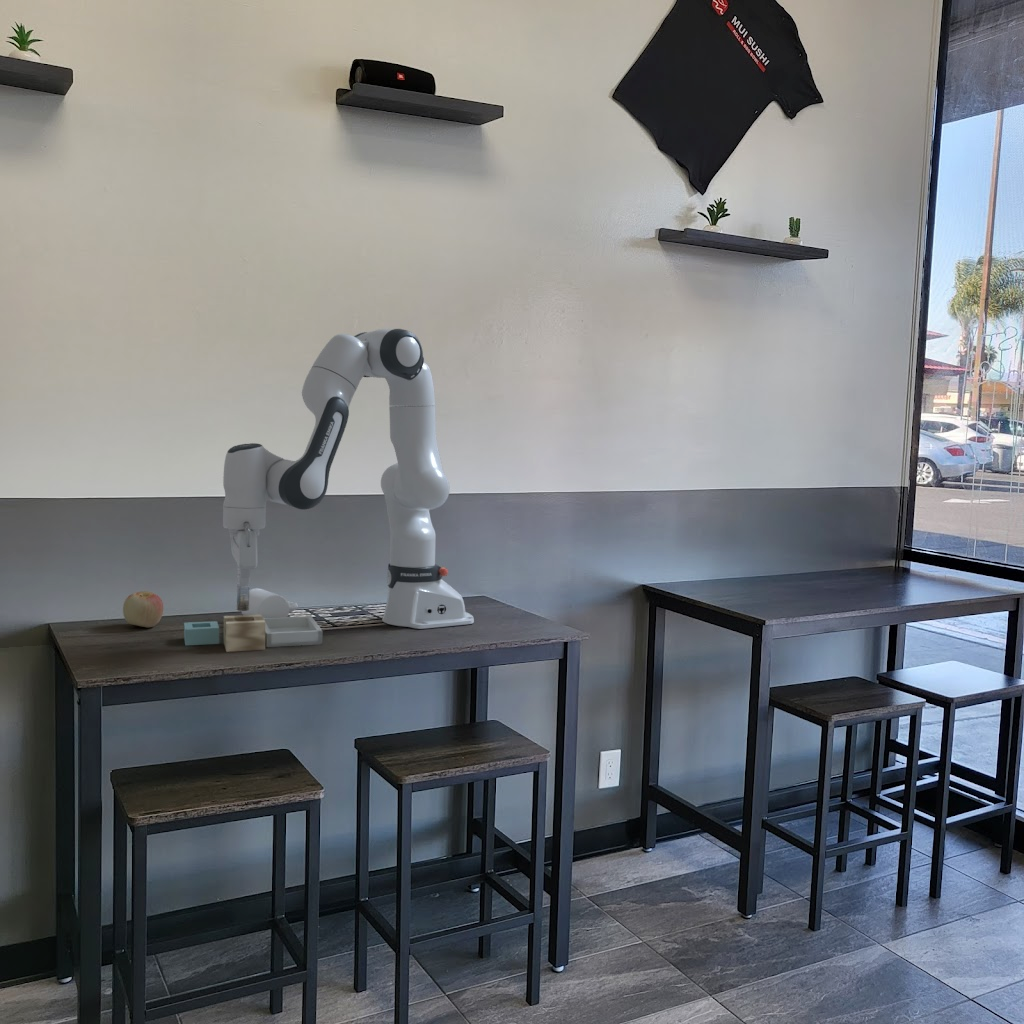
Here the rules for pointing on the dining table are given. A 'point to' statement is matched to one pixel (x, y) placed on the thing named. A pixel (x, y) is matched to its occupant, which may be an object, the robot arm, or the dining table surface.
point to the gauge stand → (201, 633)
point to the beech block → (244, 633)
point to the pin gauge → (242, 594)
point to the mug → (268, 604)
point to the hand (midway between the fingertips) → (243, 583)
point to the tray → (292, 631)
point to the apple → (143, 609)
